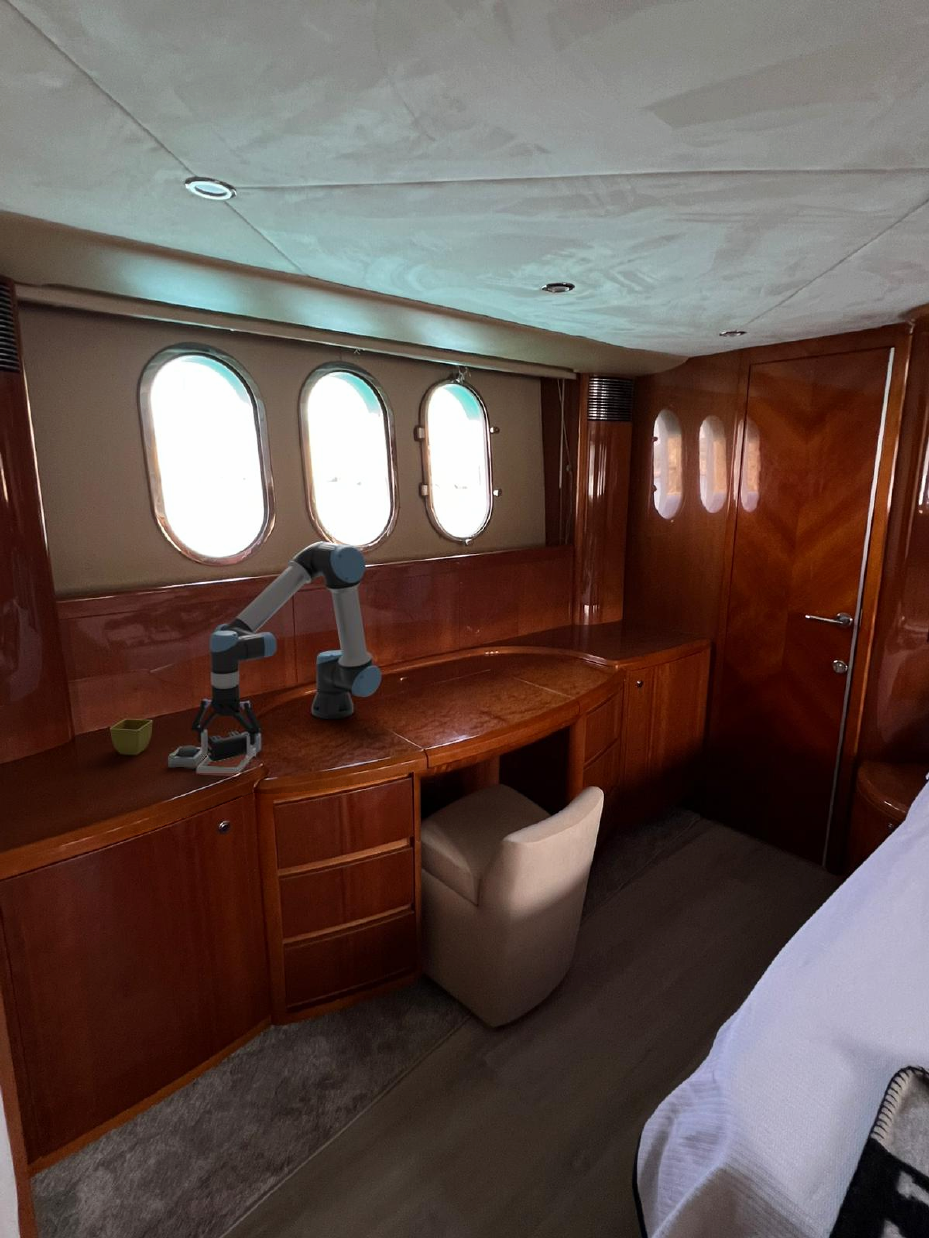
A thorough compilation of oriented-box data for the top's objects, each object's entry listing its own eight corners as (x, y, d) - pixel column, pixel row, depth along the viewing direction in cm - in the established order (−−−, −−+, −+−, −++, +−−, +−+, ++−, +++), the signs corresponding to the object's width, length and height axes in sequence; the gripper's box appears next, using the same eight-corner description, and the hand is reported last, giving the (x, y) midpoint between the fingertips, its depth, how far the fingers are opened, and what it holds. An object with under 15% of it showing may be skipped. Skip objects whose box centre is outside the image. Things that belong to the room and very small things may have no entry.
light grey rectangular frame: (256, 755, 195) (256, 747, 195) (238, 777, 181) (238, 769, 180) (217, 753, 195) (217, 745, 195) (196, 775, 181) (196, 766, 180)
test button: (199, 754, 191) (199, 745, 190) (192, 761, 186) (192, 752, 185) (183, 753, 191) (182, 745, 190) (175, 760, 186) (175, 751, 185)
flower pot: (127, 745, 198) (125, 718, 196) (154, 746, 198) (153, 719, 196) (110, 757, 189) (108, 728, 187) (139, 758, 189) (137, 730, 187)
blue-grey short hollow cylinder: (263, 746, 202) (262, 731, 201) (256, 754, 196) (256, 739, 195) (244, 745, 202) (243, 730, 201) (237, 753, 196) (237, 738, 195)
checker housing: (207, 756, 192) (206, 745, 192) (195, 768, 185) (195, 757, 184) (180, 755, 192) (180, 744, 192) (168, 767, 185) (167, 755, 184)
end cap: (215, 766, 182) (215, 745, 180) (205, 756, 187) (206, 735, 185) (249, 758, 188) (249, 737, 187) (238, 748, 193) (239, 728, 192)
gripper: (272, 682, 186) (273, 750, 191) (188, 678, 186) (191, 746, 191) (264, 690, 179) (265, 760, 184) (176, 686, 179) (179, 756, 184)
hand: (227, 753), depth 187 cm, fingers open, 13 cm apart
